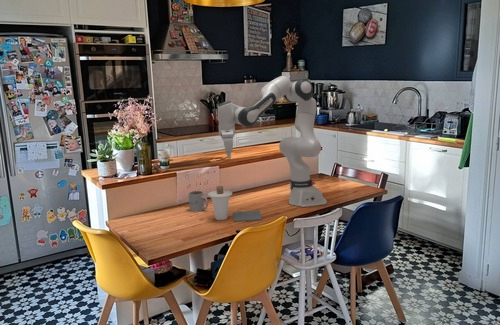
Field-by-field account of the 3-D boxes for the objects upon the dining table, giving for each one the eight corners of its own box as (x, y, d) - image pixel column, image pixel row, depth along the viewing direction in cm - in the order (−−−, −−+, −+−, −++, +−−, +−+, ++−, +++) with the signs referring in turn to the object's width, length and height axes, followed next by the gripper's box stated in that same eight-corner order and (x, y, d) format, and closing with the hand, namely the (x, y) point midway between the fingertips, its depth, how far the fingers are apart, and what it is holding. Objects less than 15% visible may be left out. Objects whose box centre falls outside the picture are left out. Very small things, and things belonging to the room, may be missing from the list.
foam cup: (227, 221, 226) (226, 197, 224) (210, 220, 228) (209, 197, 226) (231, 215, 236) (230, 192, 233) (215, 215, 237) (214, 192, 235)
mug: (186, 209, 249) (185, 193, 247) (198, 206, 255) (197, 190, 253) (200, 213, 241) (199, 196, 239) (211, 210, 247) (210, 193, 245)
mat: (259, 211, 241) (259, 210, 241) (262, 220, 226) (262, 218, 226) (232, 213, 240) (232, 212, 240) (234, 221, 225) (234, 220, 225)
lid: (231, 191, 236) (231, 183, 235) (233, 197, 224) (232, 189, 223) (208, 192, 235) (207, 184, 234) (208, 199, 222) (207, 190, 222)
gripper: (220, 129, 243) (222, 153, 246) (221, 135, 223) (223, 161, 226) (231, 128, 244) (233, 152, 247) (233, 134, 224) (235, 160, 227)
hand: (228, 156), depth 236 cm, fingers open, 8 cm apart
